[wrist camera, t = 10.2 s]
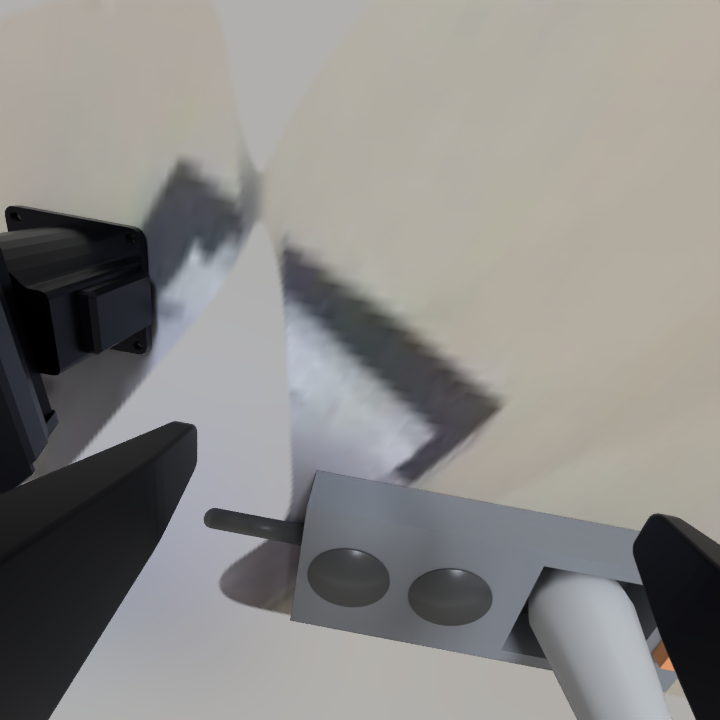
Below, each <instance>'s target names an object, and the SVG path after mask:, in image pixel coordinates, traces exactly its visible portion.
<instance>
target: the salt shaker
mask: <svg viewBox="0 0 720 720" xmlns="http://www.w3.org/2000/svg"><path fill="white" fill-rule="evenodd" d="M528 615H529V623H530V626H531V628H532V630H533V632H534V634H535V636H536V638H537V640H538V642H539V644H540V646H541V648H542V650H543V652H544V654H545V656H546V658H547V660H548V662H549V664H550V666H551V668H552V670H553V672H554V674H555V676H556V678H557V680H558V682H559V684H560V686H561V688H562V690H563V692H564V694H565V696H566V698H567V700H568V702H569V704H570V706H571V708H572V710H573V712H574V714H575V716H576V718H577V720H672V717H671V714H670V711H669V708H668V705H667V702H666V699H665V696H664V693H663V690H662V687H661V684H660V681H659V678H658V675H657V672H656V669H655V666H654V663H653V660H652V657H651V655H650V652H649V649H648V646H647V643H646V640H645V637H644V634H643V631H642V628H641V625H640V622H639V619H638V616H637V613H636V610H635V607H634V605H633V603H632V602H631V600H630V599H629V597H628V596H627V594H626V593H625V591H624V590H623V589H622V587H621V586H620V585H619V583H618V582H616V581H615V580H614V579H609V578H603V577H598V576H593V575H588V574H582V573H577V572H572V571H567V570H561V569H556V568H551V567H545V566H544V567H543V569H542V571H541V573H540V575H539V577H538V579H537V581H536V583H535V585H534V587H533V589H532V591H531V593H530V597H529V601H528Z"/></svg>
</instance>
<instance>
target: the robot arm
mask: <svg viewBox="0 0 720 720" xmlns="http://www.w3.org/2000/svg"><path fill="white" fill-rule="evenodd" d="M17 214H19V215H20V217H21V221H20V220H19V218H18V216H17ZM5 217H6V223H7V228H8V232H4V233H0V720H48V719H49V718H50V716H51V715H52V713H53V711H54V710H55V708H56V707H57V705H58V703H59V702H60V700H61V699H62V697H63V695H64V694H65V692H66V691H67V689H68V687H69V686H70V684H71V683H72V681H73V679H74V678H75V676H76V675H77V673H78V671H79V670H80V668H81V667H82V665H83V663H84V662H85V660H86V659H87V657H88V655H89V654H90V652H91V650H92V649H93V647H94V646H95V644H96V643H97V641H98V639H99V638H100V636H101V635H102V633H103V631H104V630H105V628H106V626H107V625H108V623H109V622H110V620H111V619H112V617H113V615H114V614H115V612H116V611H117V609H118V607H119V606H120V604H121V603H122V601H123V599H124V598H125V596H126V595H127V593H128V591H129V590H130V588H131V586H132V585H133V583H134V582H135V580H136V579H137V577H138V575H139V574H140V572H141V571H142V569H143V567H144V566H145V564H146V562H147V561H148V559H149V558H150V556H151V555H152V553H153V551H154V550H155V548H156V546H157V544H158V543H159V541H160V539H161V537H162V535H163V533H164V531H165V530H166V527H167V525H168V523H169V521H170V519H171V517H172V515H173V513H174V511H175V509H176V507H177V505H178V503H179V501H180V499H181V497H182V495H183V492H184V490H185V488H186V486H187V484H188V482H189V480H190V478H191V476H192V474H193V472H194V469H195V467H196V463H197V429H196V427H195V426H194V425H193V424H189V423H183V422H178V421H174V422H171V423H168V424H166V425H164V426H161V427H159V428H157V429H154V430H152V431H150V432H147V433H145V434H142V435H140V436H137V437H135V438H133V439H130V440H128V441H126V442H123V443H121V444H118V445H116V446H114V447H111V448H109V449H106V450H104V451H102V452H99V453H97V454H95V455H92V456H90V457H87V458H85V459H83V460H80V461H78V462H75V463H73V464H71V465H68V466H66V467H64V468H61V469H59V470H56V471H54V472H52V473H49V474H47V475H44V476H42V477H40V478H37V479H35V480H33V481H30V482H28V483H25V484H23V485H21V484H22V483H23V482H25V481H26V480H27V479H28V478H29V477H30V476H31V475H32V474H33V473H34V471H35V468H34V465H33V462H34V461H35V460H36V459H37V458H38V456H39V455H40V453H41V452H42V450H43V449H44V447H45V446H46V444H47V441H48V437H49V435H50V434H51V432H52V431H53V430H54V428H55V427H56V425H57V424H58V419H57V416H56V413H55V411H54V410H51V407H50V404H49V400H48V397H47V394H46V391H45V388H44V384H43V381H42V378H41V376H42V375H43V374H49V375H58V374H60V373H62V372H64V371H65V370H67V369H69V368H70V367H72V366H74V365H76V364H77V363H79V362H81V361H83V360H84V359H86V358H88V357H89V356H91V355H93V354H95V355H99V354H101V353H103V352H105V351H106V350H108V349H114V350H119V351H125V352H130V353H135V354H143V353H145V352H146V351H148V350H149V349H150V348H151V332H150V324H151V323H152V307H151V287H150V276H149V275H148V273H147V257H146V239H145V235H144V233H143V232H142V231H141V230H140V229H139V228H137V227H134V226H129V225H123V224H118V223H112V222H107V221H101V220H96V219H91V218H85V217H80V216H74V215H69V214H64V213H58V212H53V211H47V210H42V209H37V208H31V207H26V206H9V207H8V208H6V210H5ZM130 234H133V235H134V236H135V239H136V241H135V242H133V241H132V240H131V238H130ZM137 341H139V342H140V343H141V344H142V347H141V346H139V345H138V343H137ZM20 485H21V486H20ZM632 551H633V557H634V560H635V563H636V566H637V569H638V572H639V575H640V578H641V581H642V584H643V587H644V590H645V593H646V596H647V599H648V602H649V605H650V608H651V611H652V614H653V617H654V620H655V623H656V626H657V628H658V631H659V634H660V637H661V639H662V642H663V644H664V647H665V649H666V652H667V654H668V656H669V659H670V661H671V663H672V666H673V668H674V670H675V673H676V675H677V677H678V680H679V682H680V684H681V686H682V689H683V691H684V693H685V696H686V698H687V700H688V702H689V705H690V707H691V710H692V712H693V714H694V716H695V719H696V720H720V545H719V544H718V543H716V542H715V541H713V540H712V539H710V538H709V537H707V536H706V535H704V534H703V533H701V532H700V531H698V530H697V529H695V528H694V527H692V526H691V525H689V524H688V523H686V522H685V521H683V520H682V519H680V518H678V517H675V516H670V515H664V514H659V513H657V514H653V515H652V516H650V517H649V518H648V520H647V522H646V523H645V525H644V526H643V528H642V530H641V531H640V533H639V534H638V536H637V537H636V539H635V541H634V543H633V549H632Z"/></svg>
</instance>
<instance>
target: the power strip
mask: <svg viewBox="0 0 720 720" xmlns="http://www.w3.org/2000/svg"><path fill="white" fill-rule="evenodd" d="M204 523H205V525H206V526H207V527H209V528H213V529H218V530H223V531H229V532H234V533H239V534H244V535H250V536H256V537H260V538H265V539H271V540H276V541H281V542H286V543H292V544H297V545H301V551H300V558H299V564H298V571H297V578H296V585H295V592H294V598H293V605H292V612H291V619H290V620H291V621H296V622H302V623H306V624H312V625H317V626H323V627H327V628H333V629H339V630H343V631H349V632H353V633H359V634H364V635H369V636H375V637H380V638H385V639H390V640H396V641H401V642H406V643H411V644H416V645H422V646H427V647H432V648H437V649H442V650H448V651H453V652H458V653H464V654H468V655H474V656H479V657H484V658H489V659H495V660H500V661H506V662H510V663H515V664H521V665H526V666H531V667H536V668H542V669H547V670H552V668H551V666H550V664H549V662H548V660H547V658H546V656H545V654H544V652H543V650H542V648H541V646H540V644H539V642H538V640H537V638H536V636H535V634H534V632H533V630H532V628H531V626H530V623H529V615H528V601H529V597H530V593H531V591H532V589H533V587H534V585H535V583H536V581H537V579H538V577H539V575H540V573H541V571H542V569H543V567H544V566H545V567H551V568H556V569H561V570H567V571H572V572H577V573H582V574H588V575H593V576H598V577H603V578H609V579H614V580H615V581H616V582H618V583H619V585H620V586H621V587H622V589H623V590H624V591H625V593H626V594H627V596H628V597H629V599H630V600H631V602H632V603H633V605H634V607H635V610H636V613H637V616H638V619H639V622H640V625H641V628H642V631H643V634H644V637H645V640H646V643H647V646H648V649H649V652H650V655H651V657H652V660H653V663H654V666H655V669H656V672H657V675H658V678H659V681H660V684H661V687H662V690H663V692H666V691H667V690H668V689H669V688H670V686H671V685H672V684H673V683H674V682H675V680H676V679H677V678H678V677H677V675H676V673H675V670H674V668H673V666H672V663H671V661H670V659H669V656H668V654H667V652H666V649H665V647H664V644H663V642H662V639H661V637H660V634H659V631H658V628H657V626H656V623H655V620H654V617H653V614H652V611H651V608H650V605H649V602H648V599H647V596H646V593H645V590H644V587H643V584H642V581H641V578H640V575H639V572H638V569H637V566H636V563H635V560H634V557H633V551H632V549H633V543H634V541H635V539H636V537H637V536H638V534H639V533H640V531H635V530H630V529H624V528H619V527H614V526H608V525H603V524H598V523H592V522H587V521H582V520H577V519H571V518H566V517H561V516H555V515H550V514H545V513H539V512H534V511H529V510H524V509H518V508H513V507H508V506H502V505H497V504H492V503H486V502H481V501H476V500H471V499H465V498H460V497H455V496H449V495H444V494H439V493H433V492H428V491H423V490H418V489H412V488H407V487H402V486H396V485H391V484H386V483H380V482H375V481H370V480H365V479H359V478H354V477H349V476H343V475H338V474H333V473H327V472H322V471H317V472H316V476H315V480H314V483H313V487H312V491H311V494H310V498H309V502H308V505H307V510H306V517H305V524H304V525H302V524H297V523H292V522H286V521H281V520H276V519H270V518H265V517H260V516H255V515H249V514H244V513H239V512H233V511H228V510H223V509H218V508H213V509H210V510H209V511H207V512H206V514H205V517H204ZM552 671H553V670H552Z"/></svg>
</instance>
